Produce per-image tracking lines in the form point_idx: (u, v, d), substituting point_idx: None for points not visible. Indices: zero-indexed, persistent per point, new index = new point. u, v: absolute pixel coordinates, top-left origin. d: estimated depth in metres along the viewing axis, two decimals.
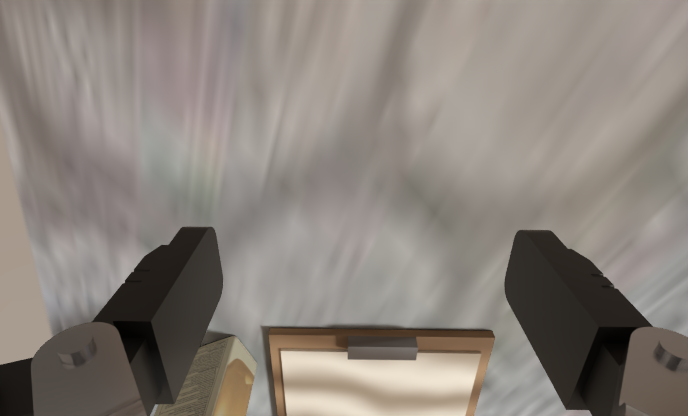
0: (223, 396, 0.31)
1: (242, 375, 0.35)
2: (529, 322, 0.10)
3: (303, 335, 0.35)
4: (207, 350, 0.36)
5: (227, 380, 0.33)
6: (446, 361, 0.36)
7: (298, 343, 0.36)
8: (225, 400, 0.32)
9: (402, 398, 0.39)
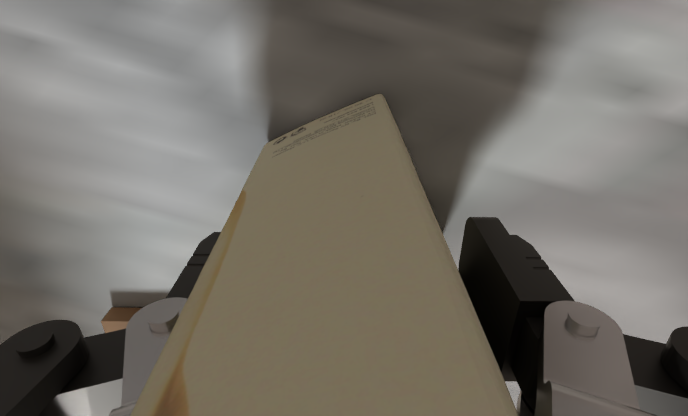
0: None
1: None
2: (475, 303, 0.10)
3: None
4: None
5: None
6: None
7: None
8: None
9: None
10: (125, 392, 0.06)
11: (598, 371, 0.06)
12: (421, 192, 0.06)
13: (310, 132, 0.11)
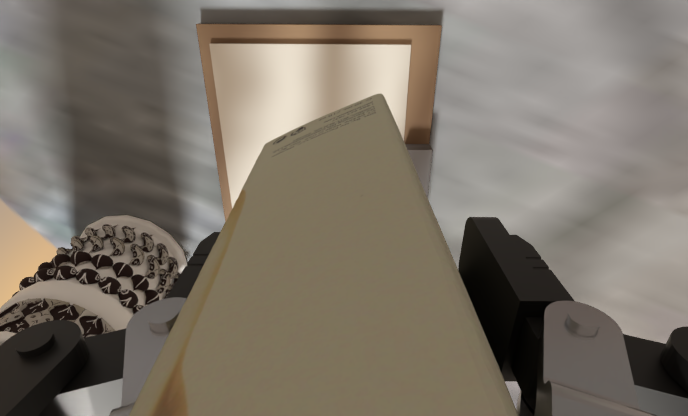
0: None
1: None
2: (475, 303, 0.10)
3: (434, 81, 0.24)
4: None
5: None
6: None
7: (418, 73, 0.24)
8: None
9: None
10: (125, 391, 0.06)
11: (598, 372, 0.06)
12: (421, 191, 0.06)
13: (310, 131, 0.11)
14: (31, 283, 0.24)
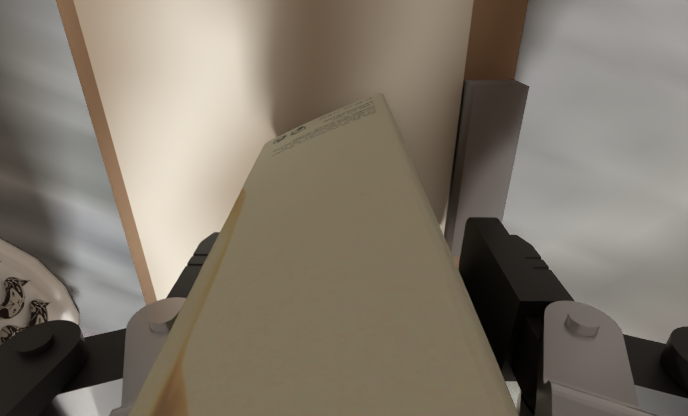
0: None
1: None
2: (475, 303, 0.10)
3: None
4: None
5: None
6: None
7: None
8: None
9: None
10: (125, 391, 0.06)
11: (599, 372, 0.06)
12: (421, 190, 0.06)
13: (310, 131, 0.11)
14: None
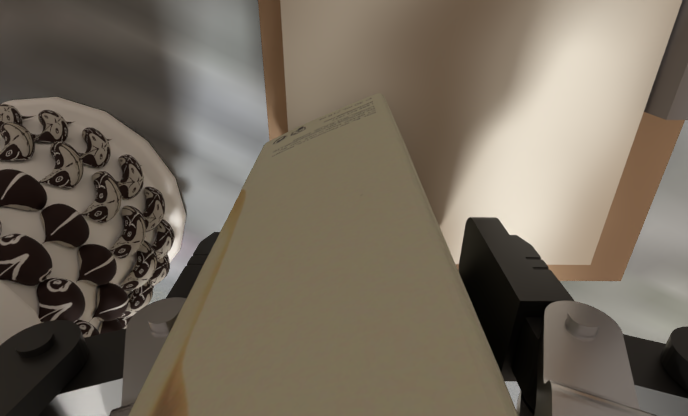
0: None
1: None
2: (475, 303, 0.10)
3: None
4: None
5: None
6: (583, 196, 0.14)
7: None
8: None
9: (448, 94, 0.13)
10: (125, 391, 0.06)
11: (598, 372, 0.06)
12: (421, 191, 0.06)
13: (310, 131, 0.11)
14: None
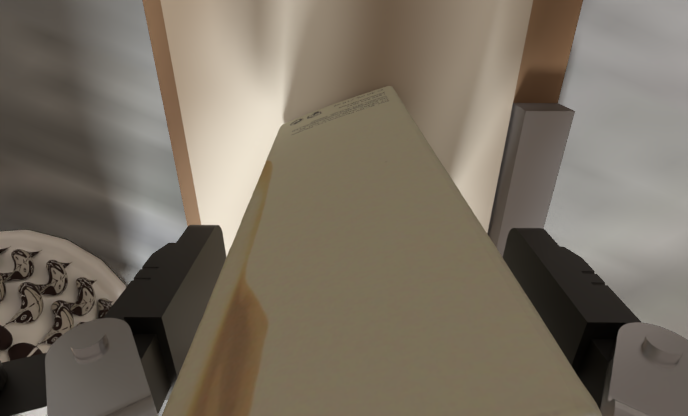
0: None
1: None
2: None
3: None
4: None
5: None
6: None
7: None
8: None
9: None
10: None
11: (674, 401, 0.06)
12: (438, 159, 0.07)
13: (326, 115, 0.13)
14: None
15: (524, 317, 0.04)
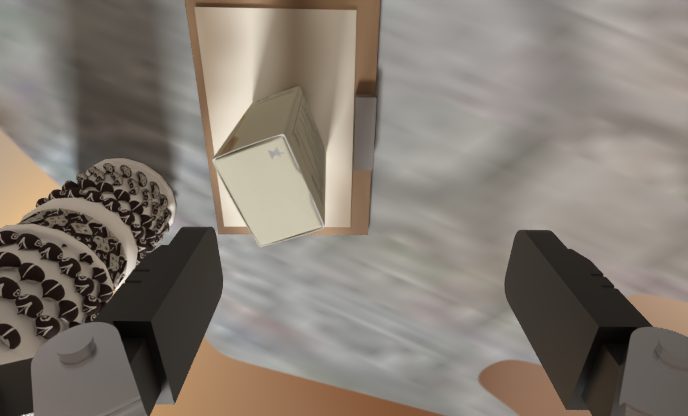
0: None
1: None
2: (529, 322, 0.10)
3: (377, 41, 0.30)
4: (316, 128, 0.32)
5: None
6: (339, 198, 0.35)
7: (363, 34, 0.30)
8: None
9: None
10: None
11: (687, 406, 0.05)
12: (292, 108, 0.25)
13: (270, 98, 0.30)
14: (46, 202, 0.29)
15: (283, 127, 0.21)
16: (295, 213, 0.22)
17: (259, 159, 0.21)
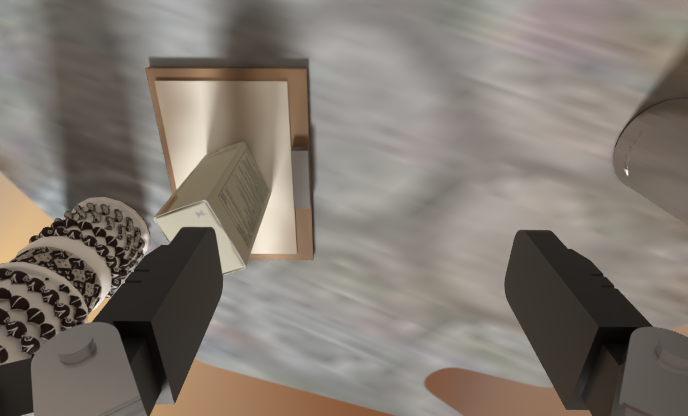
0: None
1: None
2: (529, 322, 0.10)
3: (306, 105, 0.36)
4: (259, 175, 0.38)
5: None
6: (285, 230, 0.42)
7: (295, 99, 0.36)
8: None
9: None
10: None
11: None
12: (225, 169, 0.31)
13: (218, 152, 0.36)
14: (37, 239, 0.36)
15: (208, 193, 0.27)
16: (221, 257, 0.29)
17: (189, 218, 0.27)
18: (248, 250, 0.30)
